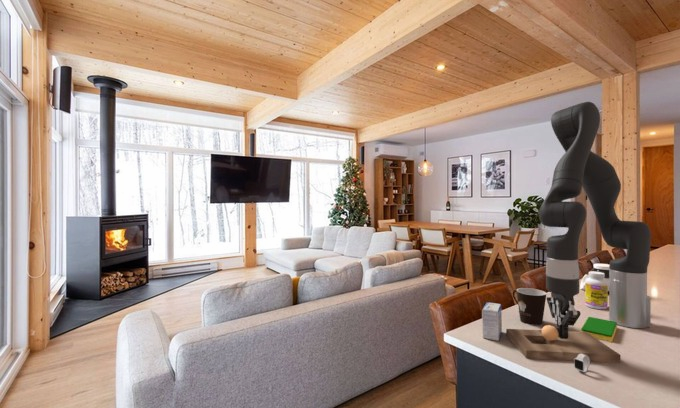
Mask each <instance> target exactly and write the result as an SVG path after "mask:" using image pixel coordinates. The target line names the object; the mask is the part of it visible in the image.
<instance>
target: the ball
mask: <svg viewBox="0 0 680 408" xmlns="http://www.w3.org/2000/svg"><path fill="white" fill-rule="evenodd" d="M541 330H542V335H543V337H544V338H545V339H547V340H549V341H554V340H556V339H557V338H558V336H559V333H558V330H557V327H554V326H553V325H550V324H548V325H544V326H543V327H542V328H541Z"/></svg>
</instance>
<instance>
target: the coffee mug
mask: <svg viewBox="0 0 680 408" xmlns="http://www.w3.org/2000/svg"><path fill="white" fill-rule="evenodd" d="M515 293H516V294H515ZM515 295H516V296H515ZM516 297H517V299H516ZM512 298H513V300H514V301H515V303H516V304H517V305H518V313H519V320H520V322H521V323H524V324H525V325H526V324H527V325H529V326H541V325H542V324H543V323H544V315H545V307H546V302H547V292H546V291H544V290H540V289H536V288H530V287H529V288H528V287H520V288H516V289H515V290H513V291H512Z"/></svg>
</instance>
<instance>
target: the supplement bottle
mask: <svg viewBox="0 0 680 408" xmlns="http://www.w3.org/2000/svg"><path fill="white" fill-rule="evenodd" d="M588 275H589V278H587V279H586V280H585V290H584V291H585V292H584V304H585V306H586V307H588V308H591V309H595V310H606V309H608V306H609V304H608V303H609V302H608V300H609V299H608V297H609V294H608V283H607V281H605V280H604V277H605V274H604V273H602V272H595V271H591V270H590V271H588Z"/></svg>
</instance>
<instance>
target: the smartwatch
mask: <svg viewBox="0 0 680 408" xmlns="http://www.w3.org/2000/svg"><path fill="white" fill-rule="evenodd" d="M573 361H574V365H573V366H574V368H575V369H576V370H577V371H579V372H582V373H586V372H588V369H589V367H590V366H591V361H590V358H589V357H588V356H587V355H584V354H579V355H578V356H577V357H576V358H575V359H574V360H573Z"/></svg>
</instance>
